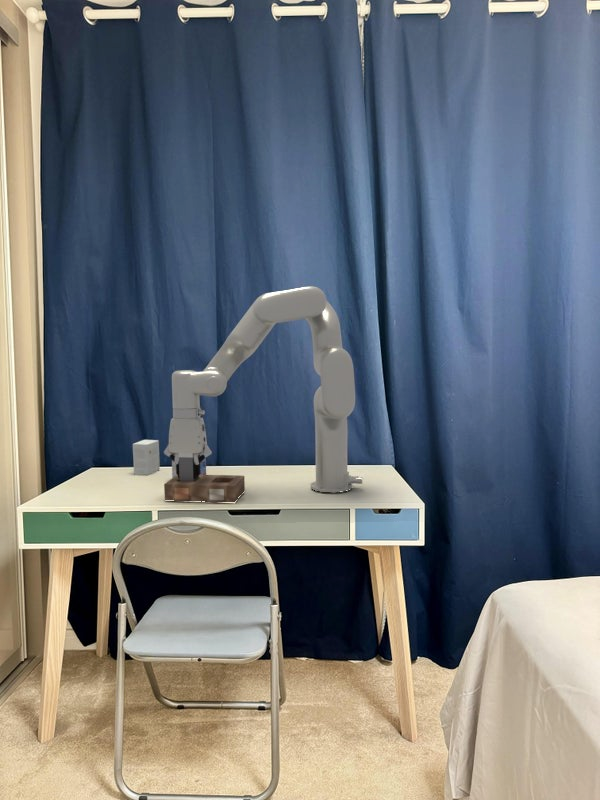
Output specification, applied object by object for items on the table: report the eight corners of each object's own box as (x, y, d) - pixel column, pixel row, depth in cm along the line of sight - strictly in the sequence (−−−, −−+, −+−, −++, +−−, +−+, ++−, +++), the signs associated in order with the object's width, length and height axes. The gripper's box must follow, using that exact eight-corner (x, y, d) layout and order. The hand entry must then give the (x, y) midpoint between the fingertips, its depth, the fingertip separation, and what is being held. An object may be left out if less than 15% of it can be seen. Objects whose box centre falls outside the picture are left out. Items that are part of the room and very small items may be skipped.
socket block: (244, 492, 177) (244, 475, 176) (234, 504, 165) (234, 486, 164) (179, 490, 179) (178, 474, 179) (164, 501, 167) (163, 484, 167)
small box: (145, 469, 208) (144, 439, 207) (160, 470, 207) (159, 440, 206) (133, 474, 201) (132, 443, 199) (148, 475, 199) (147, 444, 198)
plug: (197, 484, 174) (196, 450, 173) (193, 488, 170) (192, 453, 169) (184, 484, 175) (183, 450, 174) (179, 487, 171) (178, 453, 170)
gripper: (218, 412, 173) (220, 474, 175) (163, 412, 175) (165, 473, 177) (211, 416, 165) (213, 481, 167) (153, 415, 168) (155, 479, 170)
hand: (188, 476), depth 172 cm, fingers closed on plug, 4 cm apart
